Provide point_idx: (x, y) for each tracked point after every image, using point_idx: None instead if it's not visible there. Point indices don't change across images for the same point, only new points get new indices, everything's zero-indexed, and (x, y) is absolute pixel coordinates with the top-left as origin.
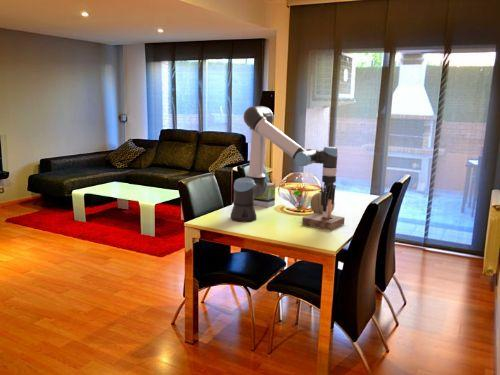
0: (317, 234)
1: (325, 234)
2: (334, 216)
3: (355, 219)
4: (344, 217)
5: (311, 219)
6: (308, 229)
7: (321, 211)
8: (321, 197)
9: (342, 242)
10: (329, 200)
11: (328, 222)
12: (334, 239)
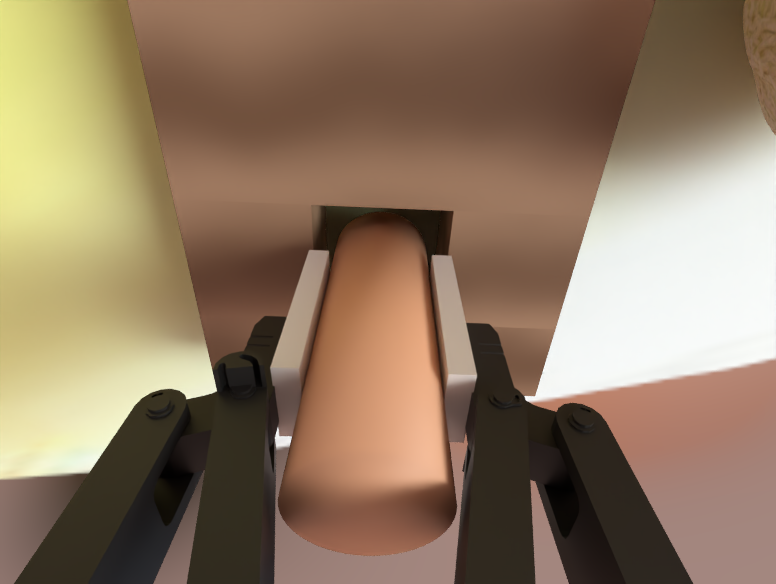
0: (23, 296)
1: (93, 343)
2: (516, 308)
3: (760, 359)
4: (532, 395)
5: (158, 130)
6: (60, 149)
7: (745, 25)
8: (26, 576)
9: (60, 473)
10: (317, 544)
11: (213, 354)
12: (59, 426)
